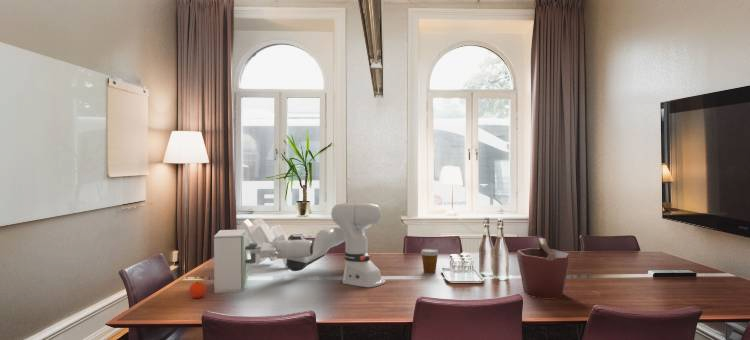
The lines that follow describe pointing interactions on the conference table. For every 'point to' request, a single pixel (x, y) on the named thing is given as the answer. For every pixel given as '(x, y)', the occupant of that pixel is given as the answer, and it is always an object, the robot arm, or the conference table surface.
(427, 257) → the disposable coffee cup
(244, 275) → the hatch
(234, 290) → the storage box
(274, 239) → the pile of blocks
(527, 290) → the bucket
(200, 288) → the clementine
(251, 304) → the conference table surface
